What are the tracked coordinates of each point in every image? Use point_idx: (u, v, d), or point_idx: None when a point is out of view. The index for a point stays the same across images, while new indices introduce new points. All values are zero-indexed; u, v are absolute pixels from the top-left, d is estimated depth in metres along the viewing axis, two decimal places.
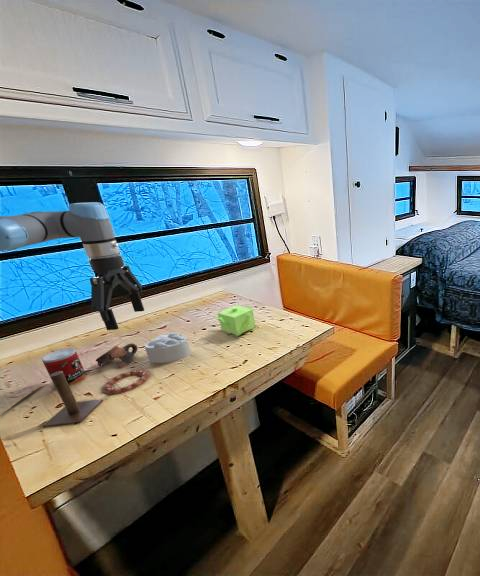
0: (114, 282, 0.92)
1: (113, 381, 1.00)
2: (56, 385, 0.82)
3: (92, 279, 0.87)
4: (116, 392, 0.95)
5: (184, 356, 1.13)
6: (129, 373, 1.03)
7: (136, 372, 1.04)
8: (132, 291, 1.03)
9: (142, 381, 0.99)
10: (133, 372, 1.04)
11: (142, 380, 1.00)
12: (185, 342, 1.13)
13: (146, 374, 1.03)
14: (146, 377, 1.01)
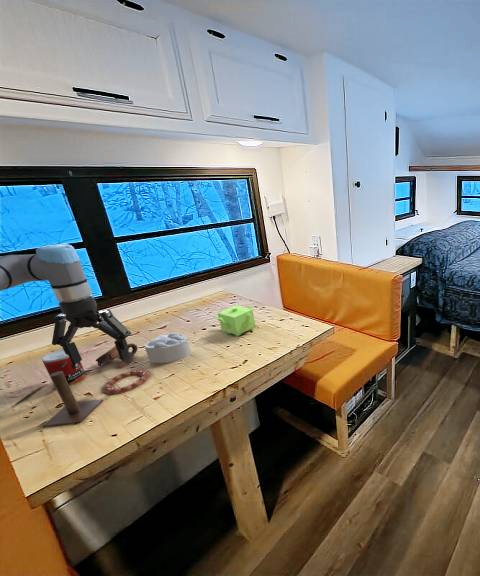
0: None
1: (113, 381, 1.00)
2: (56, 385, 0.82)
3: (106, 312, 0.91)
4: (116, 392, 0.95)
5: (184, 356, 1.13)
6: (129, 373, 1.03)
7: (136, 372, 1.04)
8: (66, 343, 0.92)
9: (142, 381, 0.99)
10: (133, 372, 1.04)
11: (142, 380, 1.00)
12: (185, 342, 1.13)
13: (146, 374, 1.03)
14: (146, 377, 1.01)
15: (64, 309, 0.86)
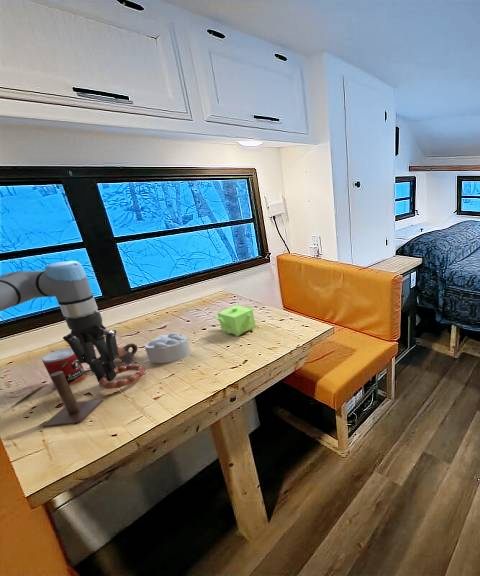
0: None
1: None
2: (56, 385, 0.82)
3: (112, 334, 0.94)
4: (112, 385, 0.94)
5: (184, 356, 1.13)
6: (125, 367, 1.02)
7: (132, 366, 1.03)
8: (92, 360, 0.95)
9: (138, 374, 0.99)
10: (129, 366, 1.03)
11: (138, 374, 0.99)
12: (185, 342, 1.13)
13: (143, 368, 1.02)
14: (142, 371, 1.00)
15: (71, 324, 0.88)
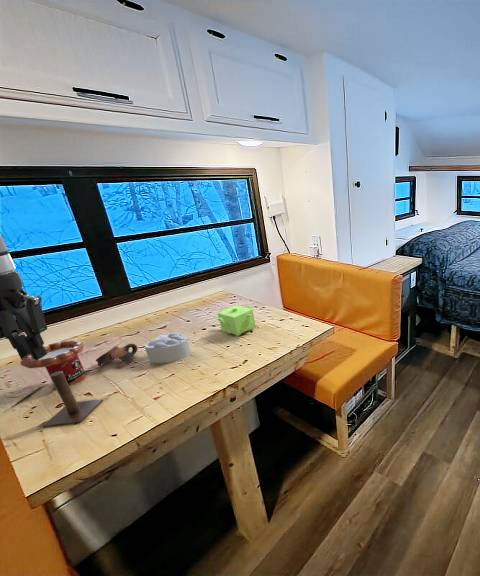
0: None
1: None
2: (56, 385, 0.82)
3: (35, 300, 0.76)
4: (36, 364, 0.76)
5: (184, 356, 1.13)
6: (59, 344, 0.85)
7: (68, 343, 0.85)
8: (12, 334, 0.78)
9: (72, 352, 0.81)
10: (64, 343, 0.85)
11: (73, 351, 0.81)
12: (185, 342, 1.13)
13: (80, 345, 0.84)
14: (78, 348, 0.83)
15: None
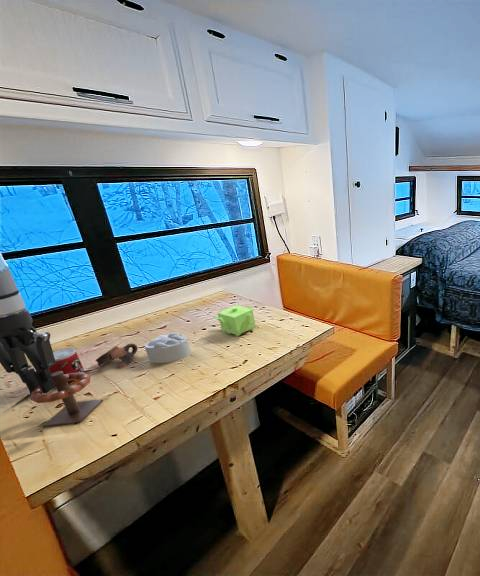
0: None
1: None
2: (56, 385, 0.82)
3: (44, 337, 0.78)
4: (45, 399, 0.79)
5: (184, 356, 1.13)
6: (67, 376, 0.87)
7: (76, 375, 0.88)
8: (22, 369, 0.80)
9: (80, 385, 0.83)
10: (72, 375, 0.88)
11: (80, 384, 0.84)
12: (185, 342, 1.13)
13: (87, 377, 0.87)
14: (86, 381, 0.85)
15: None
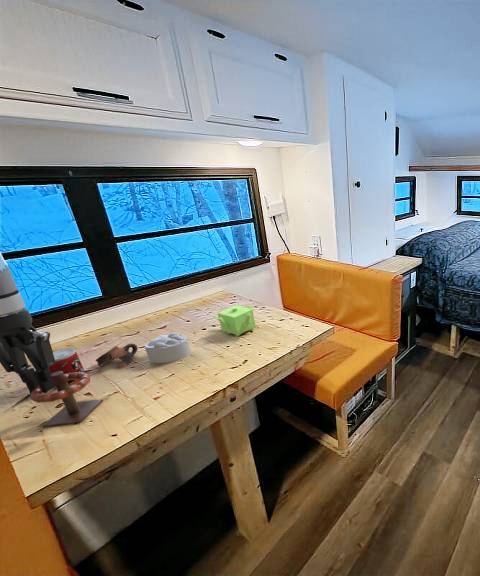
0: None
1: None
2: (56, 385, 0.82)
3: (44, 337, 0.78)
4: (45, 399, 0.79)
5: (184, 356, 1.13)
6: (67, 375, 0.87)
7: (75, 374, 0.88)
8: (22, 369, 0.80)
9: (80, 385, 0.83)
10: (72, 374, 0.88)
11: (80, 384, 0.84)
12: (185, 342, 1.13)
13: (87, 377, 0.87)
14: (86, 381, 0.85)
15: None
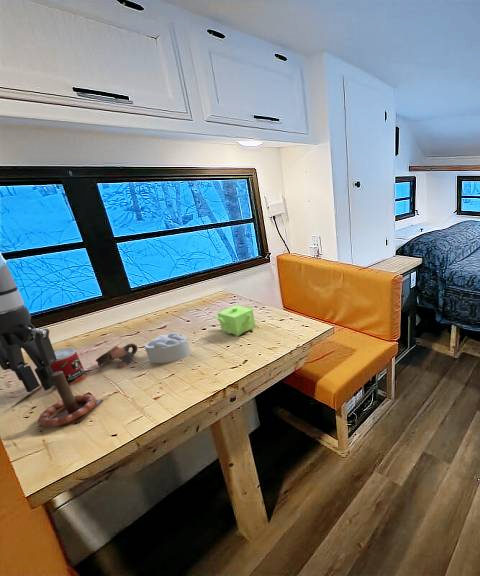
0: None
1: (52, 409, 0.86)
2: (56, 385, 0.82)
3: (43, 334, 0.78)
4: (53, 423, 0.81)
5: (184, 356, 1.13)
6: None
7: (81, 397, 0.90)
8: (18, 366, 0.80)
9: (86, 408, 0.86)
10: (78, 397, 0.90)
11: (86, 407, 0.86)
12: (185, 342, 1.13)
13: (92, 399, 0.89)
14: (92, 404, 0.88)
15: None
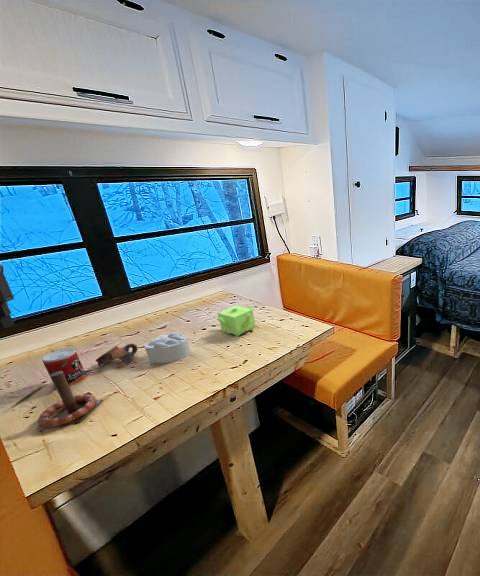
0: None
1: (52, 409, 0.86)
2: (56, 385, 0.82)
3: None
4: (53, 423, 0.81)
5: (184, 356, 1.13)
6: None
7: (81, 397, 0.90)
8: None
9: (86, 408, 0.86)
10: (78, 397, 0.90)
11: (86, 407, 0.86)
12: (185, 342, 1.13)
13: (92, 399, 0.89)
14: (91, 404, 0.88)
15: None
